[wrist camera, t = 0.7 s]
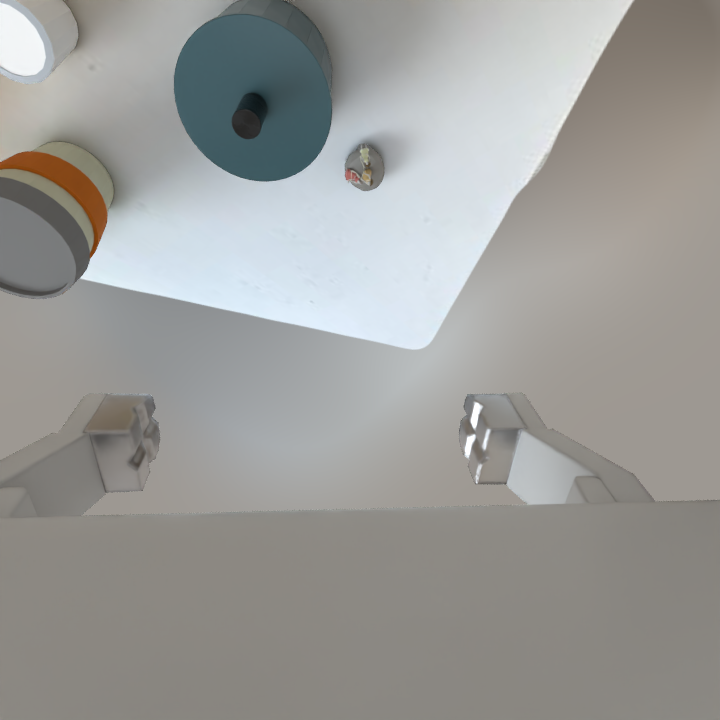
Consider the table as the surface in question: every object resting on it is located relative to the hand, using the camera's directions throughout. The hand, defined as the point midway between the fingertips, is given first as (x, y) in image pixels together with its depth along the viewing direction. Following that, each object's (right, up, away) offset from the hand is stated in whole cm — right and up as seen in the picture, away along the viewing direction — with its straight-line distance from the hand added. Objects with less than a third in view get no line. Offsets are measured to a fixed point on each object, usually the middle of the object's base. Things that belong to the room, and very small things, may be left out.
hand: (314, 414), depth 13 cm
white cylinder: (-29, +34, +34) cm, 56 cm away
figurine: (+2, +24, +44) cm, 50 cm away
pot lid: (-8, +24, +31) cm, 40 cm away
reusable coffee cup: (-33, +23, +46) cm, 61 cm away
